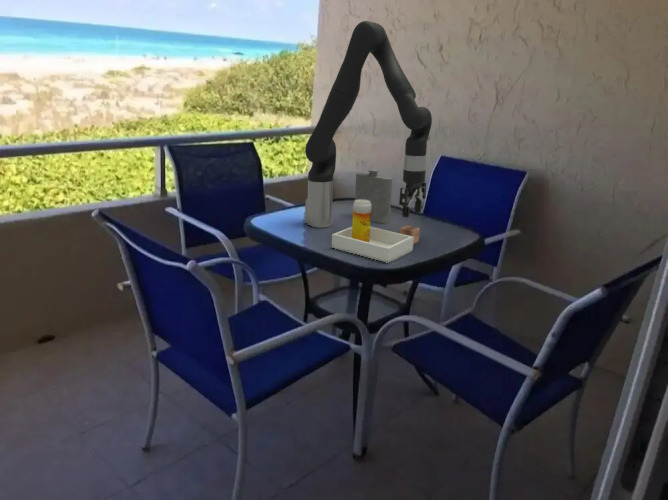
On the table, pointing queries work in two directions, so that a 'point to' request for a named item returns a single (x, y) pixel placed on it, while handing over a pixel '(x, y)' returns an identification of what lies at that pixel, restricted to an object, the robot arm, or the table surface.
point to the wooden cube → (411, 232)
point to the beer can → (361, 220)
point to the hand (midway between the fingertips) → (411, 214)
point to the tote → (374, 244)
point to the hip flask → (375, 194)
